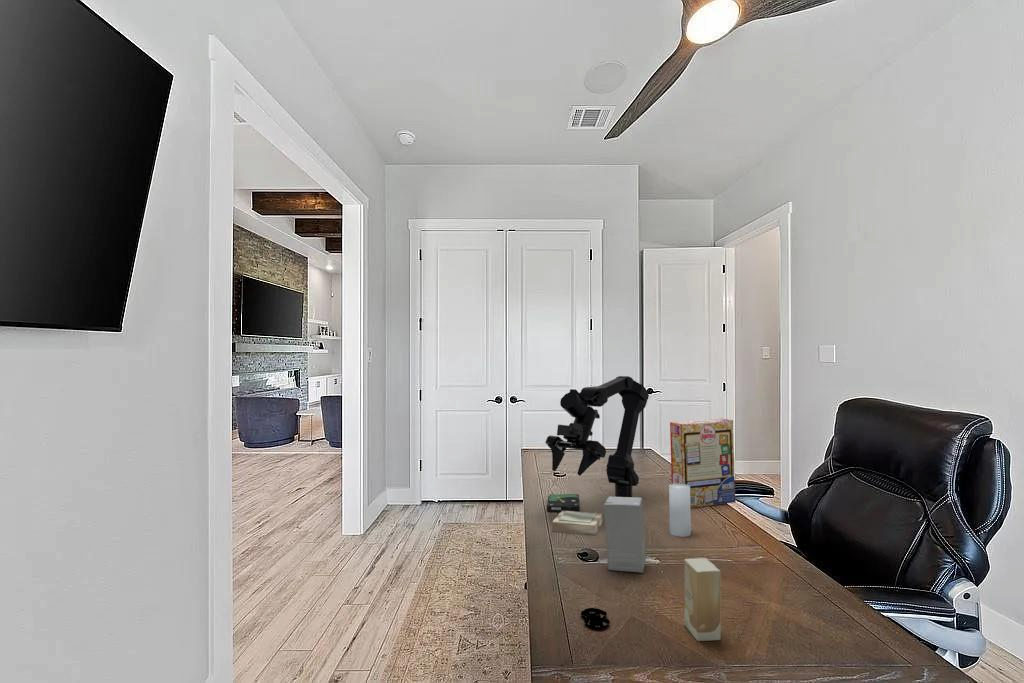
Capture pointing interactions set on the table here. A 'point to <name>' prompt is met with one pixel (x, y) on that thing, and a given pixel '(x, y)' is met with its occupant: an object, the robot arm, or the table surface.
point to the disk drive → (563, 503)
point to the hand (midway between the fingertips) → (565, 472)
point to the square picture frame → (577, 522)
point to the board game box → (704, 460)
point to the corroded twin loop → (595, 618)
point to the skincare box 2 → (702, 599)
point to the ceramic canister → (679, 510)
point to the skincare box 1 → (625, 534)
